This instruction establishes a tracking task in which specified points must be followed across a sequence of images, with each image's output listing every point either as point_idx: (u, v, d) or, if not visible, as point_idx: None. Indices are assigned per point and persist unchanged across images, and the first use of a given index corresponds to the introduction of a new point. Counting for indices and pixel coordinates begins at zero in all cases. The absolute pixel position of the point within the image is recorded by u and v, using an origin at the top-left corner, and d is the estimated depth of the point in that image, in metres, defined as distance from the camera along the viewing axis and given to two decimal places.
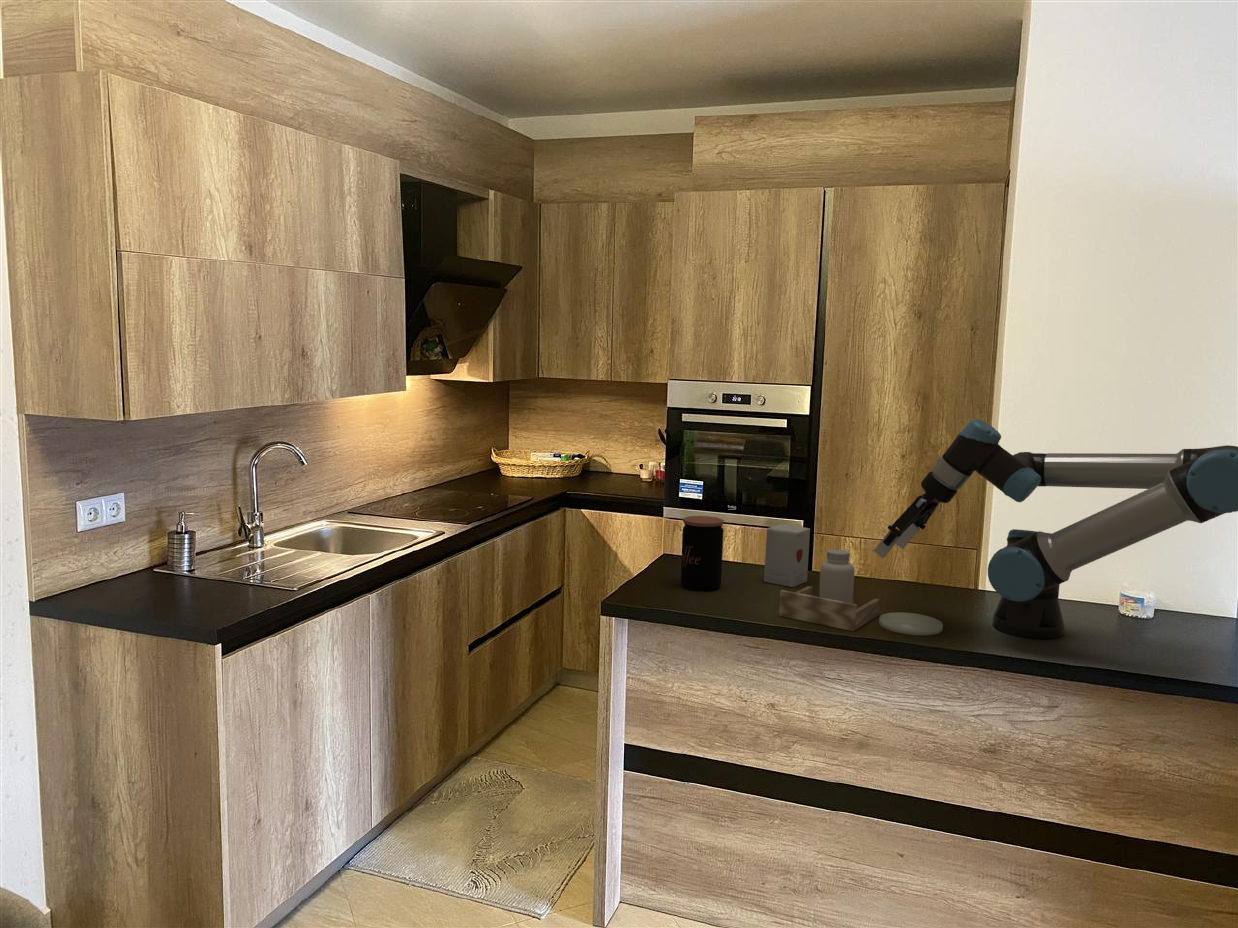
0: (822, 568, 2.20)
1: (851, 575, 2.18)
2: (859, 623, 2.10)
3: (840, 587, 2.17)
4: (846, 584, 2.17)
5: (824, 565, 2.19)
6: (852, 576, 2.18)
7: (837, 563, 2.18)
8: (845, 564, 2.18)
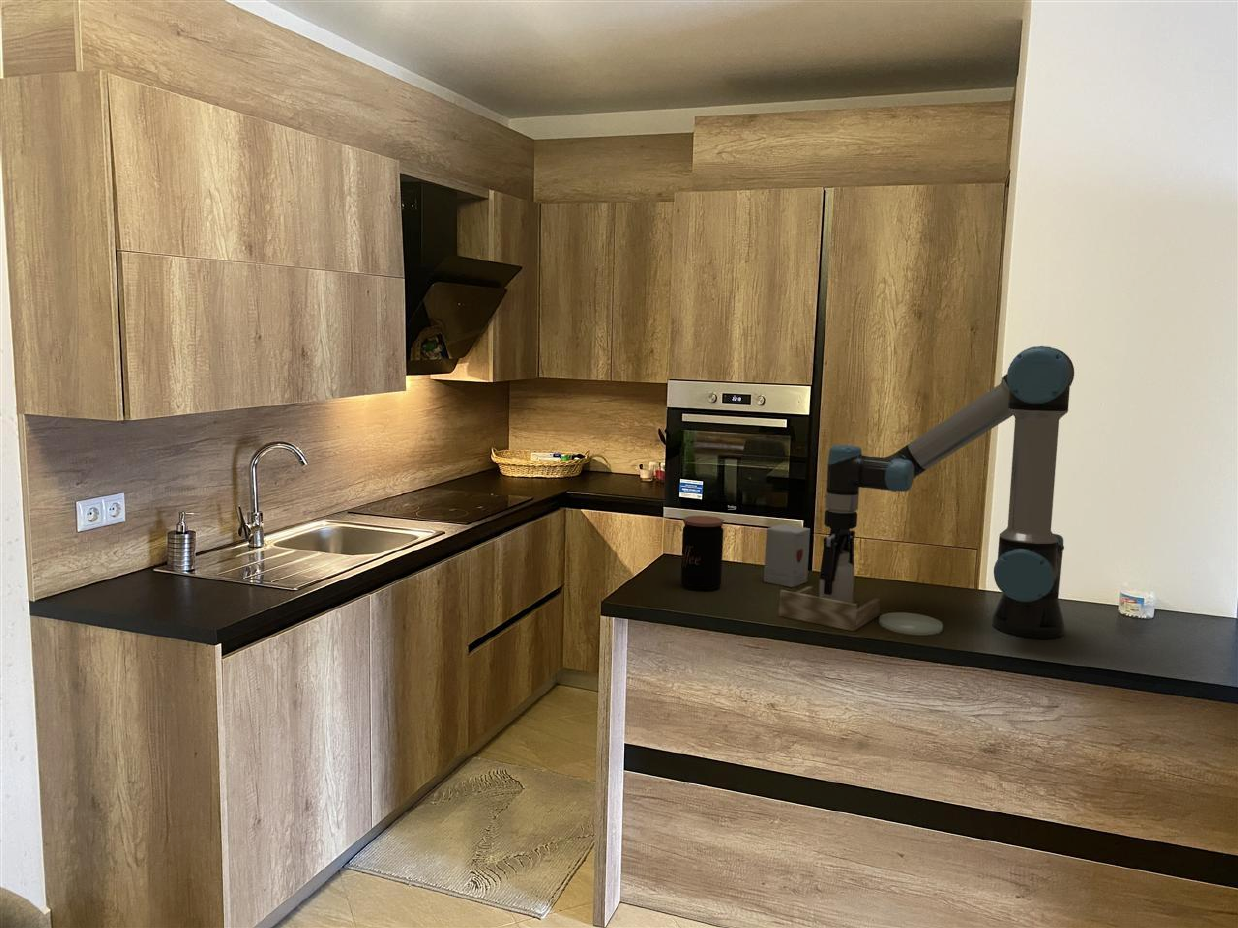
0: None
1: (851, 575, 2.18)
2: (859, 623, 2.10)
3: (840, 587, 2.17)
4: (846, 584, 2.17)
5: None
6: (852, 576, 2.18)
7: None
8: (845, 564, 2.18)
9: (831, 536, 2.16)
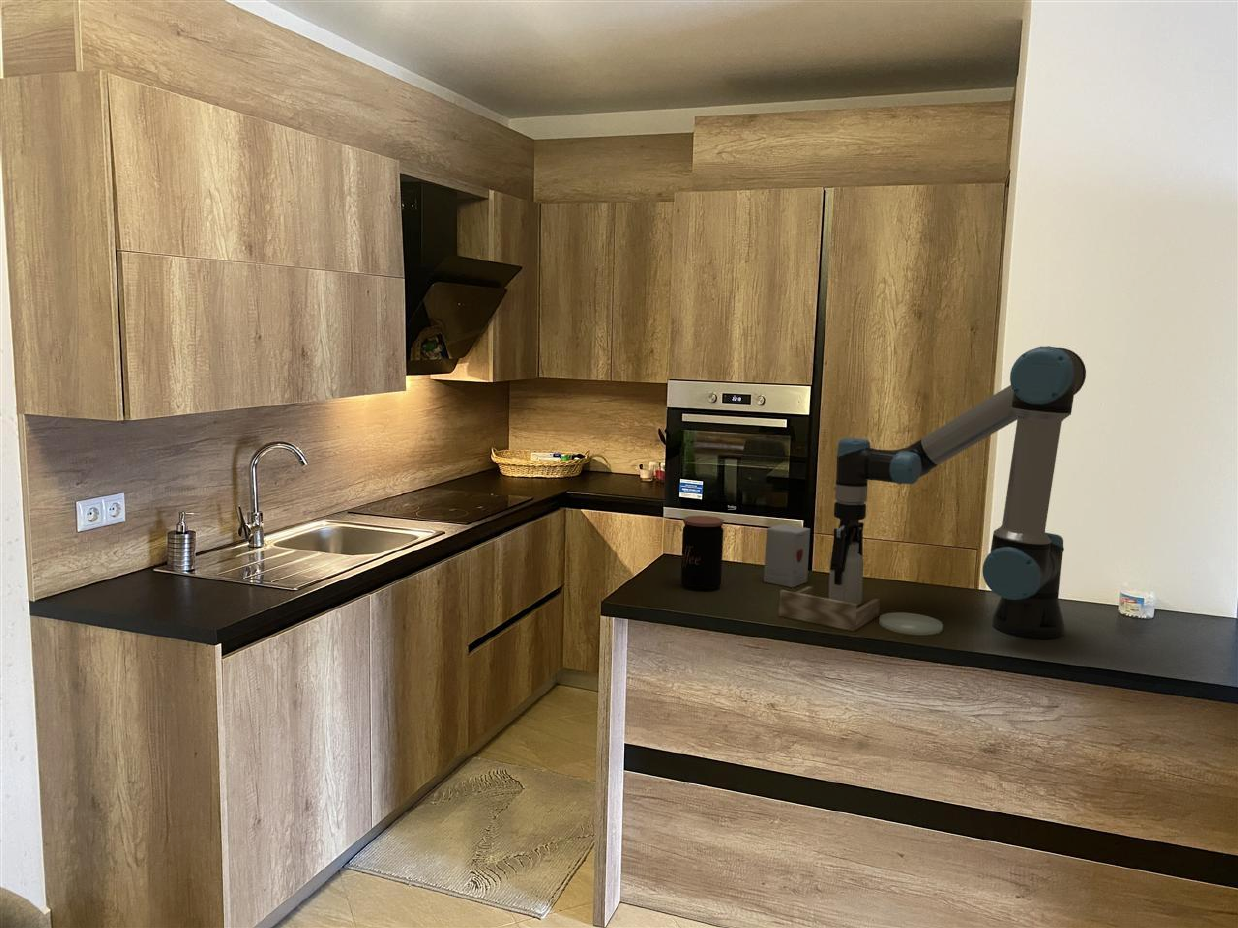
0: None
1: (860, 566, 2.22)
2: (859, 623, 2.10)
3: (850, 577, 2.21)
4: (855, 575, 2.21)
5: None
6: (861, 566, 2.22)
7: (847, 554, 2.22)
8: (854, 555, 2.22)
9: (841, 527, 2.20)
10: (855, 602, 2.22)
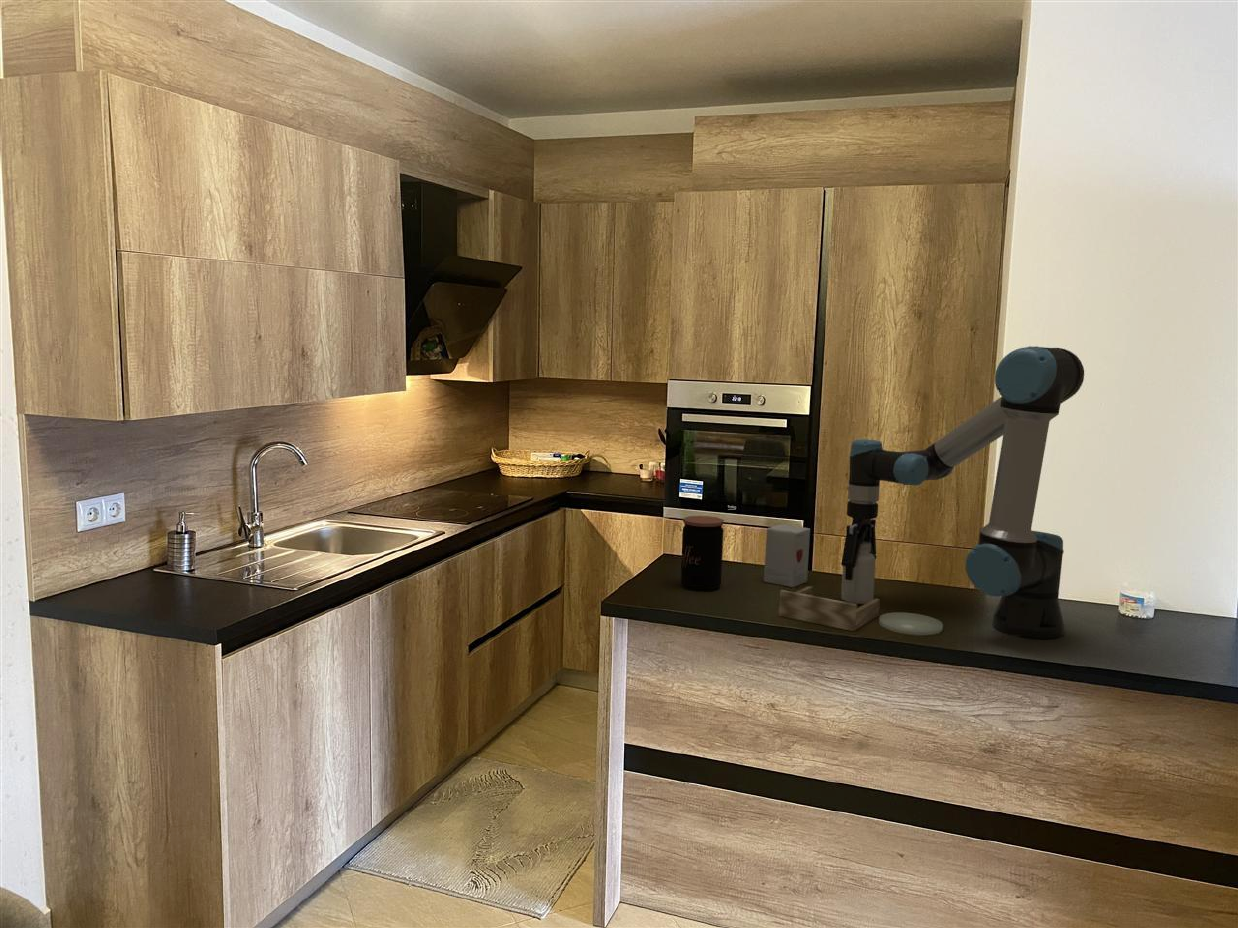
0: None
1: (872, 565, 2.29)
2: (859, 623, 2.10)
3: (862, 576, 2.28)
4: (868, 574, 2.29)
5: None
6: (873, 566, 2.29)
7: (859, 553, 2.29)
8: (867, 554, 2.29)
9: (854, 525, 2.27)
10: (867, 600, 2.29)
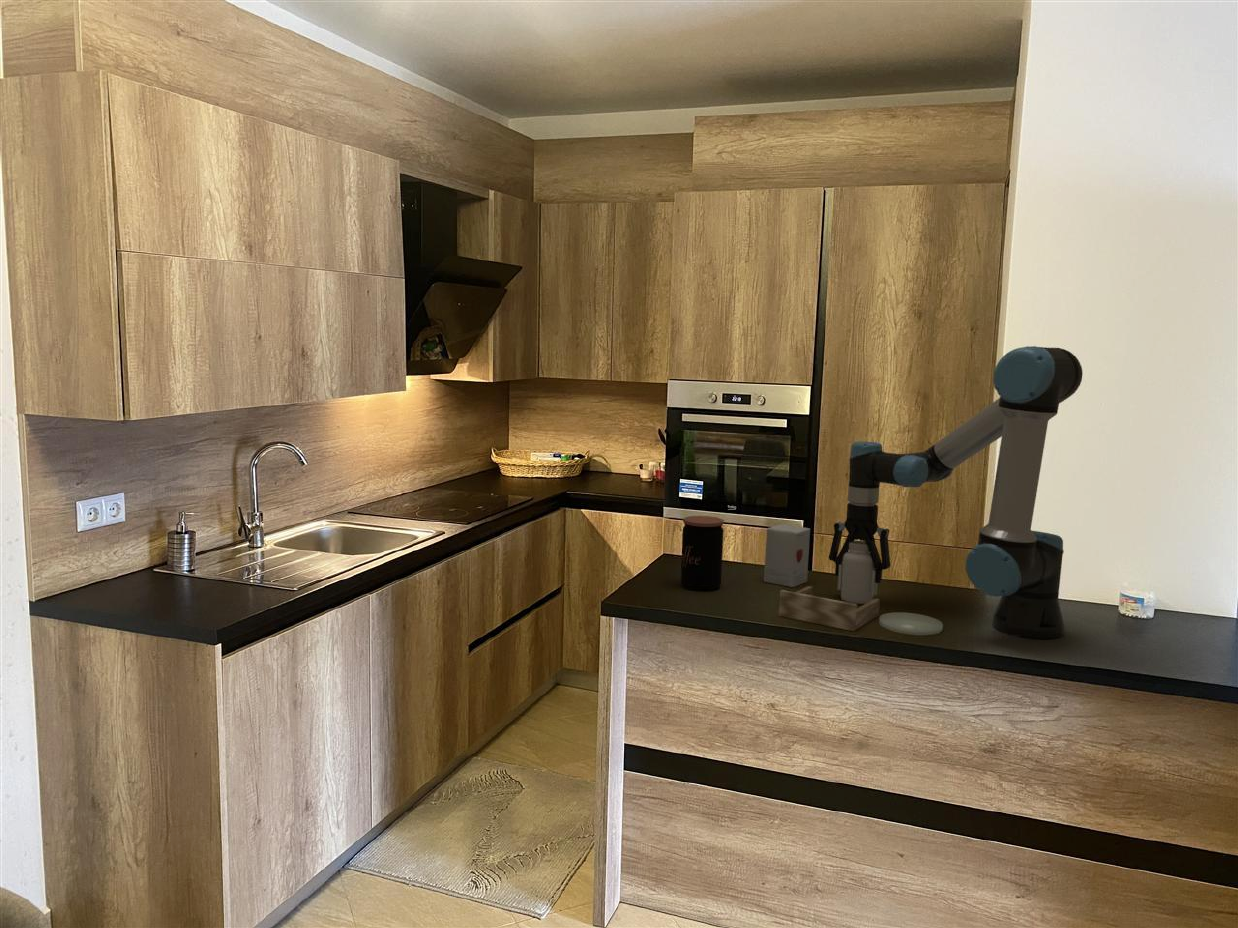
0: (844, 558, 2.31)
1: (872, 565, 2.29)
2: (859, 623, 2.10)
3: (862, 576, 2.28)
4: (867, 574, 2.29)
5: (846, 555, 2.31)
6: (873, 566, 2.30)
7: (859, 553, 2.29)
8: (866, 554, 2.29)
9: None
10: (866, 600, 2.29)
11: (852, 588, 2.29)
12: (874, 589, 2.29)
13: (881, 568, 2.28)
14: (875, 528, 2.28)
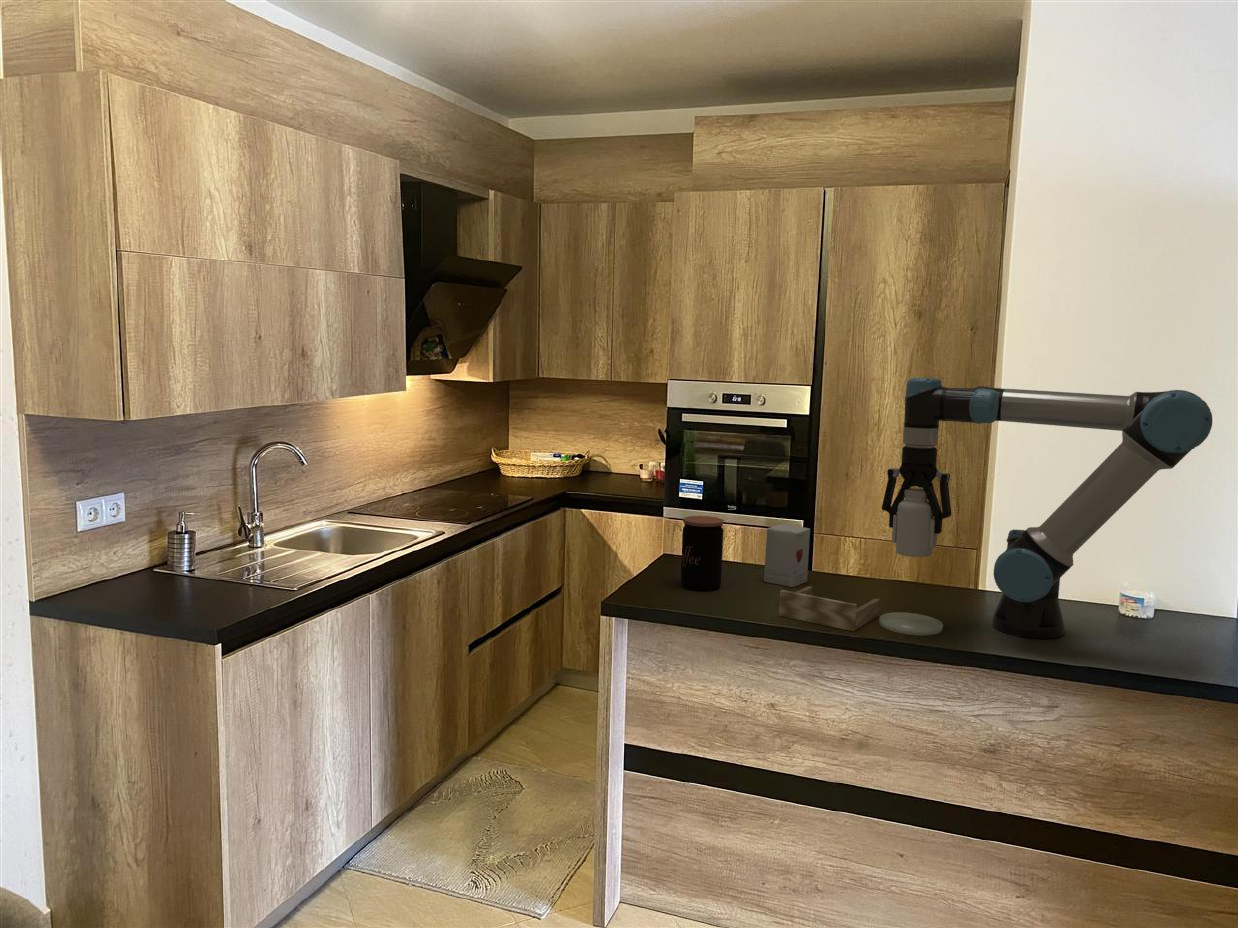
0: (900, 507, 2.09)
1: (931, 514, 2.07)
2: (859, 623, 2.10)
3: (920, 526, 2.06)
4: (926, 523, 2.07)
5: (902, 504, 2.09)
6: (932, 515, 2.08)
7: (916, 501, 2.08)
8: (924, 502, 2.08)
9: None
10: (925, 553, 2.08)
11: (908, 540, 2.08)
12: (933, 541, 2.08)
13: (941, 517, 2.06)
14: (934, 473, 2.06)
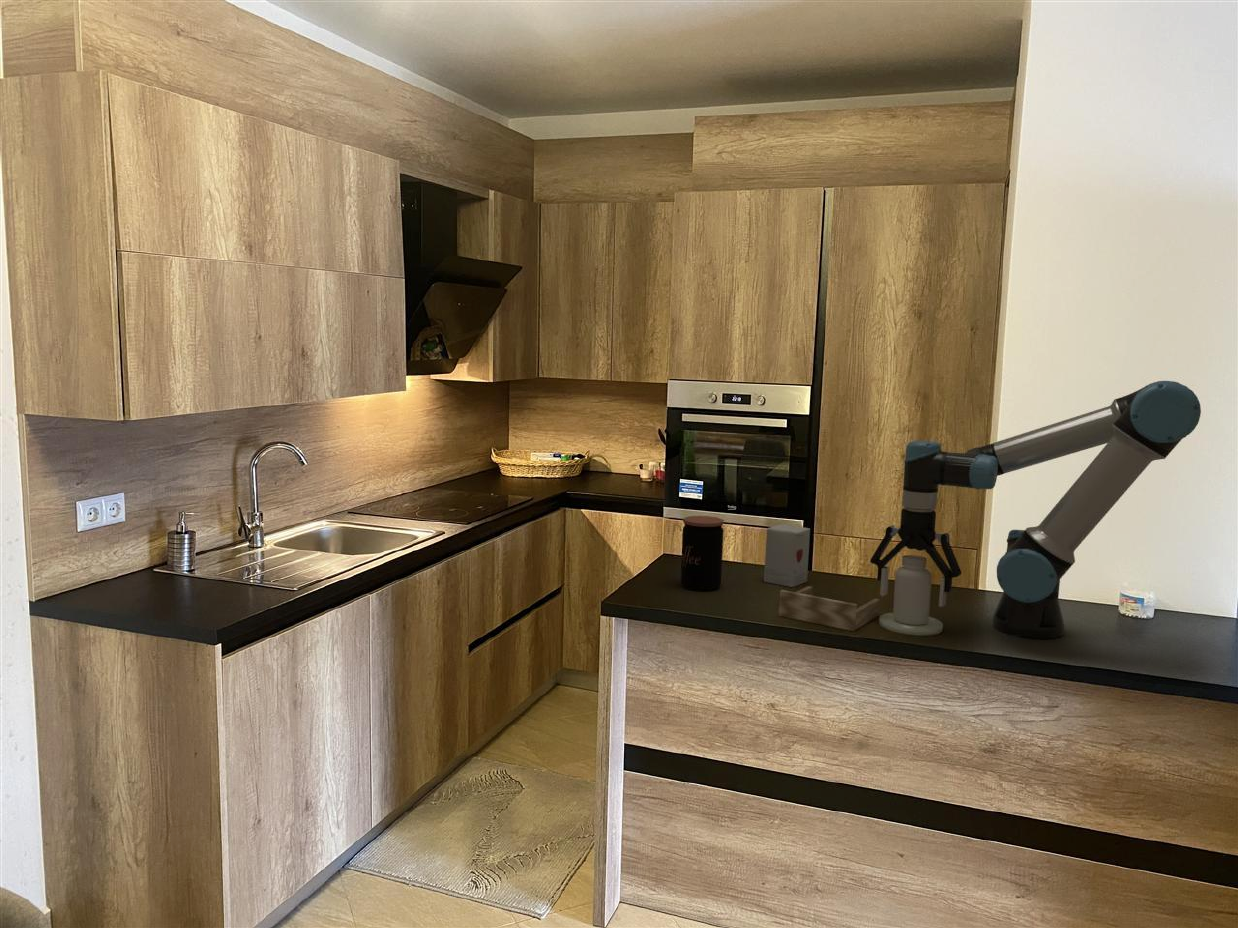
0: (898, 574, 2.10)
1: (928, 582, 2.08)
2: (859, 623, 2.10)
3: (918, 594, 2.07)
4: (924, 591, 2.08)
5: (900, 571, 2.10)
6: (930, 583, 2.09)
7: (914, 569, 2.08)
8: (922, 570, 2.09)
9: (897, 528, 2.12)
10: (922, 621, 2.09)
11: (906, 608, 2.09)
12: (943, 599, 2.07)
13: (951, 575, 2.05)
14: (933, 536, 2.07)
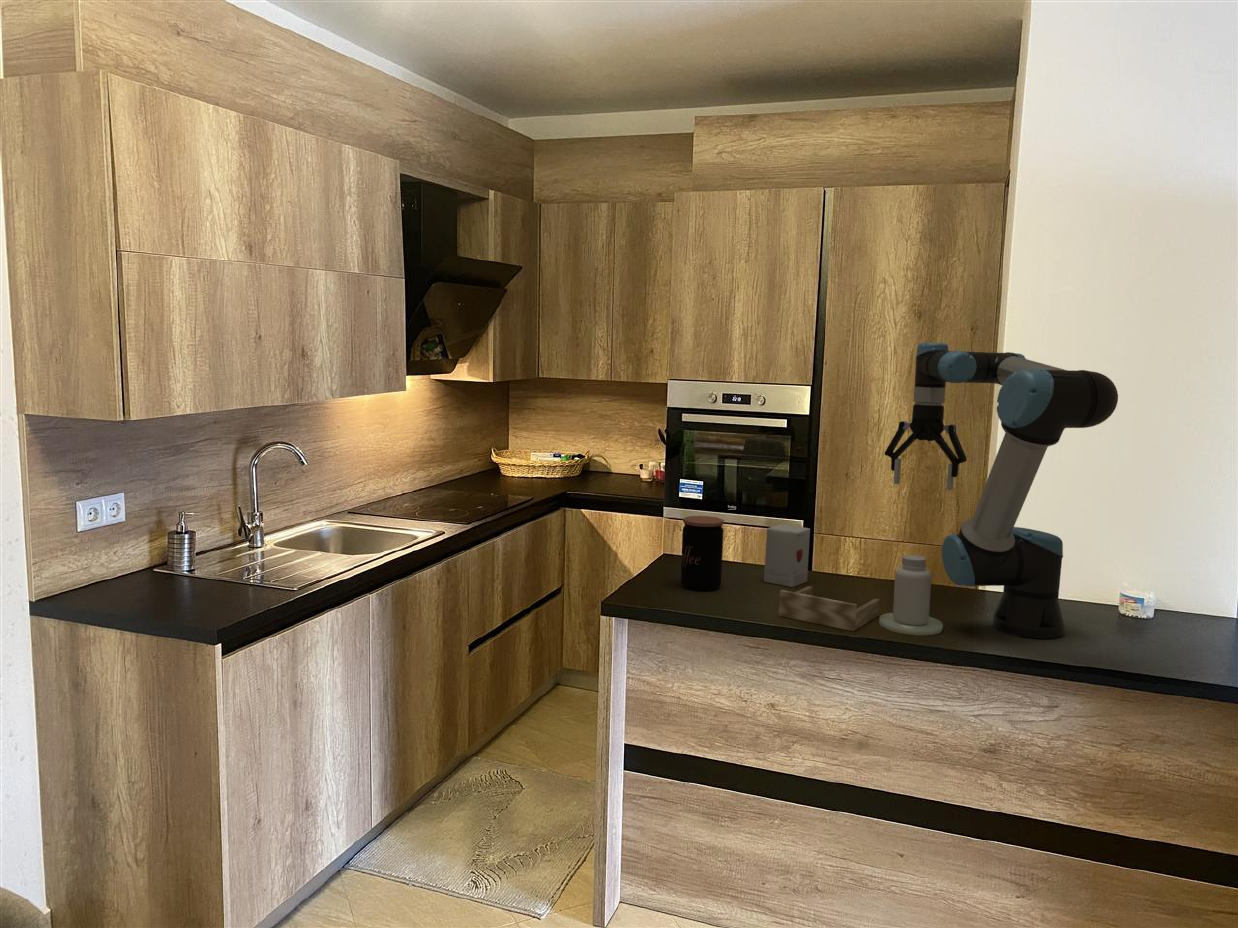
0: (898, 575, 2.10)
1: (928, 582, 2.08)
2: (859, 623, 2.10)
3: (918, 594, 2.07)
4: (924, 592, 2.08)
5: (900, 572, 2.10)
6: (929, 583, 2.09)
7: (914, 569, 2.08)
8: (922, 570, 2.09)
9: None
10: (922, 621, 2.09)
11: (906, 608, 2.09)
12: (950, 483, 2.31)
13: (958, 461, 2.30)
14: (941, 427, 2.31)
